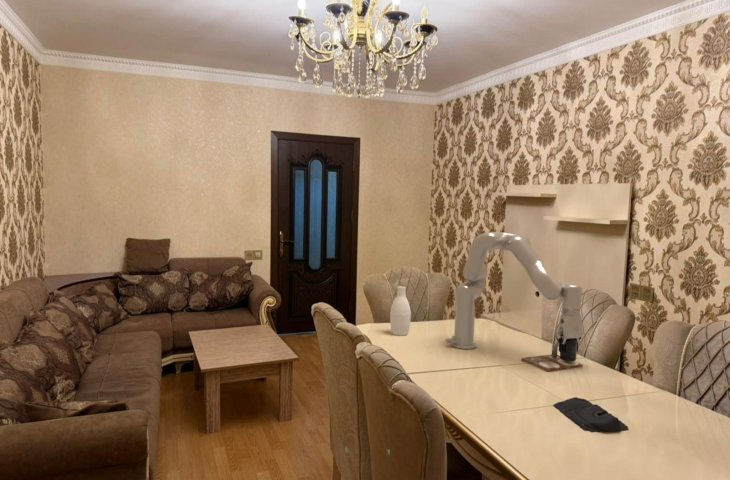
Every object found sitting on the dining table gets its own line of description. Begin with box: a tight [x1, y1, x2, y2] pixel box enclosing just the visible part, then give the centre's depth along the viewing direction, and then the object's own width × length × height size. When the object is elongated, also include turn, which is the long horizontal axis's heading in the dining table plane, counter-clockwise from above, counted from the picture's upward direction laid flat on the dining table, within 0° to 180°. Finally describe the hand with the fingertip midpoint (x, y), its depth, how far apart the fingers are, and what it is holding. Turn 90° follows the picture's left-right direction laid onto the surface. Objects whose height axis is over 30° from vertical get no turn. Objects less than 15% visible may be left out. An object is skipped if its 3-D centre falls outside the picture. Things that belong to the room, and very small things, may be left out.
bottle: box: [389, 285, 412, 337], centre depth 258 cm, size 11×11×25 cm
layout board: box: [521, 343, 583, 372], centre depth 215 cm, size 20×16×7 cm
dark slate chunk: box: [552, 396, 629, 434], centre depth 159 cm, size 15×22×5 cm
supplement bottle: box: [559, 336, 577, 362], centre depth 214 cm, size 7×7×12 cm
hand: (568, 351), depth 214 cm, fingers closed on supplement bottle, 6 cm apart
